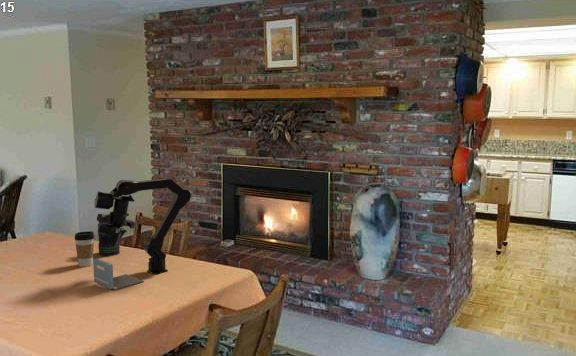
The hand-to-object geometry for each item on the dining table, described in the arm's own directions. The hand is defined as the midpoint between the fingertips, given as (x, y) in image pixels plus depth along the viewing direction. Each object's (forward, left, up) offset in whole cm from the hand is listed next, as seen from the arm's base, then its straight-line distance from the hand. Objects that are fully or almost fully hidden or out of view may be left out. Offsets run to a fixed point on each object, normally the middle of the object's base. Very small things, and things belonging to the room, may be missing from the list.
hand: (113, 246), depth 213 cm
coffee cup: (0, -24, -13) cm, 28 cm away
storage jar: (-17, -33, -13) cm, 40 cm away
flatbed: (+3, +9, -13) cm, 16 cm away
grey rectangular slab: (+10, +9, -12) cm, 18 cm away
